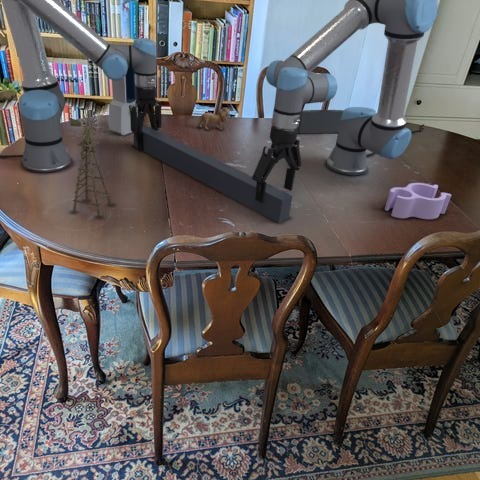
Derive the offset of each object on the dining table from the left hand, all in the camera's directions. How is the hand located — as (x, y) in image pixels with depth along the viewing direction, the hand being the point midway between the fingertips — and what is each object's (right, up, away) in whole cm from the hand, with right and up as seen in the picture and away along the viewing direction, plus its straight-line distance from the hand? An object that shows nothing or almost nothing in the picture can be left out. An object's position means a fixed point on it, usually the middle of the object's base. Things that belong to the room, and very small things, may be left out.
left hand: (146, 147), depth 178 cm
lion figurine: (+24, +13, +26) cm, 38 cm away
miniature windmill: (-8, -26, -41) cm, 49 cm away
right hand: (+46, -22, -37) cm, 63 cm away
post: (+23, -14, -17) cm, 31 cm away
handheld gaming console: (+72, +14, +34) cm, 81 cm away
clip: (+93, -26, -23) cm, 100 cm away
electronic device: (-12, +10, +14) cm, 21 cm away
